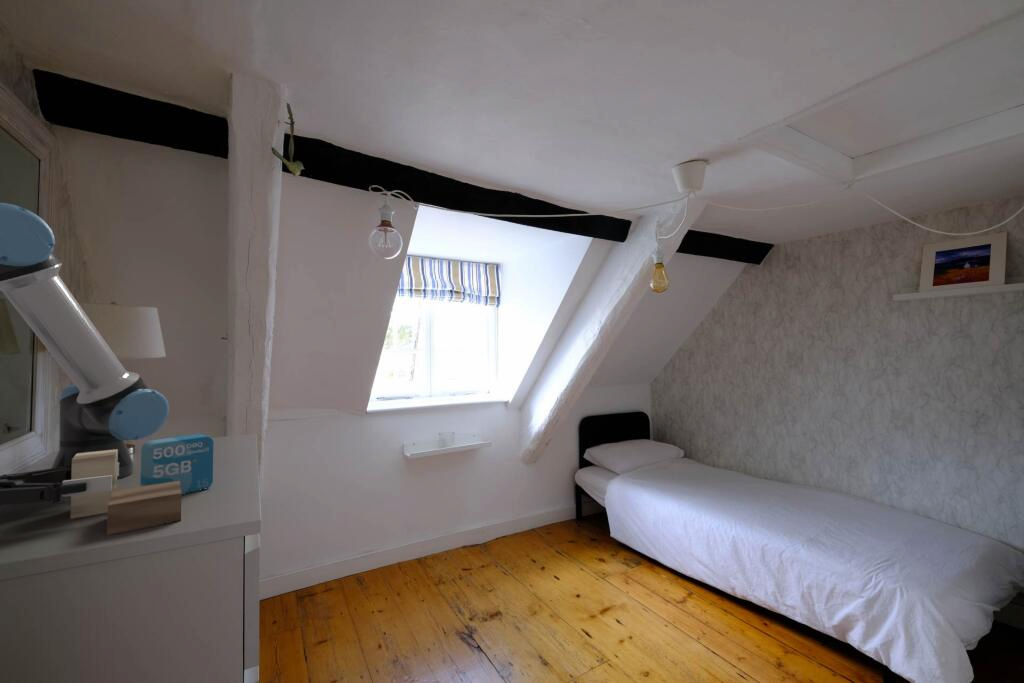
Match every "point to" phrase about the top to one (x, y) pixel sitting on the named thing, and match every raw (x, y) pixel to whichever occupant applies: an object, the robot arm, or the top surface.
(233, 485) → the top surface
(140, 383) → the robot arm
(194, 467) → the data package
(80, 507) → the birch block
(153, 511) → the block
